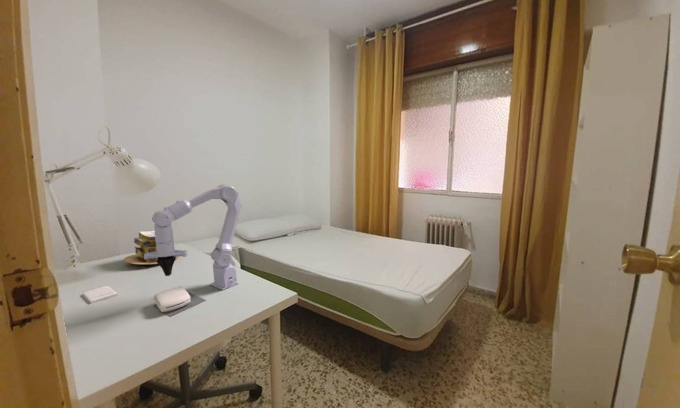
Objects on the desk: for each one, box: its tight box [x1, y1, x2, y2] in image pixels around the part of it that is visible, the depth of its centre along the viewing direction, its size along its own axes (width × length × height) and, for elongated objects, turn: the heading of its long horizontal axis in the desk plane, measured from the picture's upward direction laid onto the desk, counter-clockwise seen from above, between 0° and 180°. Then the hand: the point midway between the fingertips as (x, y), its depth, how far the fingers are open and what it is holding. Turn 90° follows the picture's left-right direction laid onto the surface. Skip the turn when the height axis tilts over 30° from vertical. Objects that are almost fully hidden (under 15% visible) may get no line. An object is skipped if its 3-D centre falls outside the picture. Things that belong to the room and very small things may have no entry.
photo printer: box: [153, 286, 191, 313], centre depth 99 cm, size 10×4×12 cm
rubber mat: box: [152, 291, 207, 318], centre depth 100 cm, size 13×13×1 cm
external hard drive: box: [82, 285, 118, 305], centre depth 107 cm, size 2×8×12 cm
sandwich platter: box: [122, 229, 179, 265], centre depth 145 cm, size 25×25×17 cm
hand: (168, 274), depth 103 cm, fingers closed
